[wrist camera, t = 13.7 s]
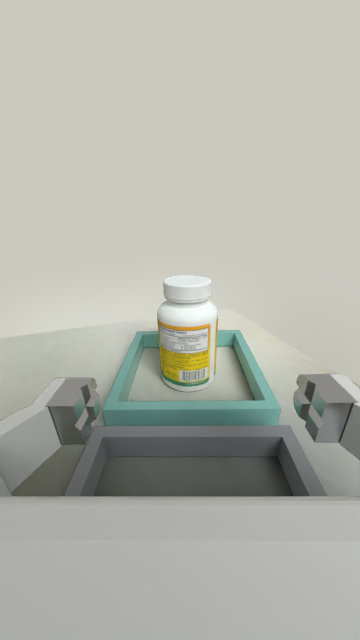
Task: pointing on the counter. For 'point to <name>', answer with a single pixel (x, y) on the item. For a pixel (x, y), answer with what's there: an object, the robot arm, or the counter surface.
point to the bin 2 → (194, 451)
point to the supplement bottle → (187, 333)
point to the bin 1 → (191, 412)
